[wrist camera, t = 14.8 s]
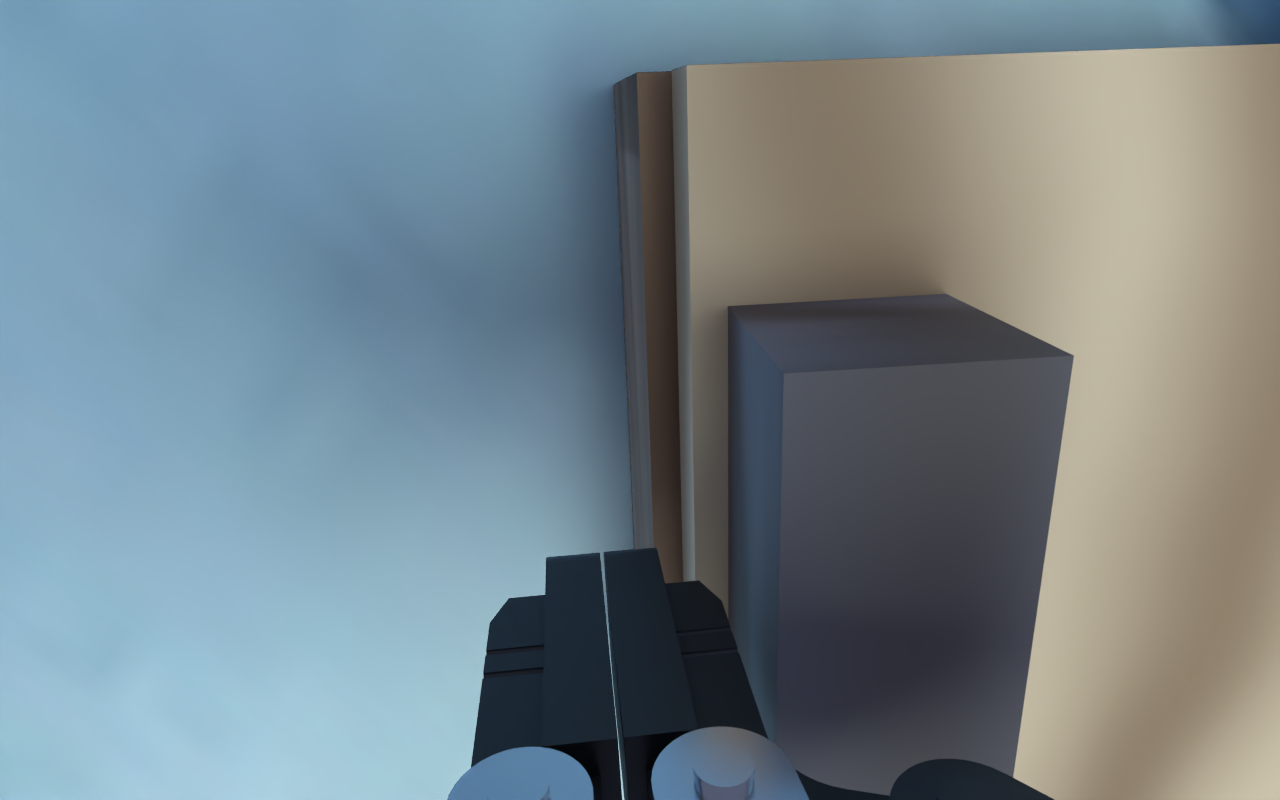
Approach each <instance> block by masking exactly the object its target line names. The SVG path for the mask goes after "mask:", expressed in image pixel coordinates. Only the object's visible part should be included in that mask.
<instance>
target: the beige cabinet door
mask: <svg viewBox="0 0 1280 800" xmlns="http://www.w3.org/2000/svg"><path fill="white" fill-rule="evenodd" d="M672 109H673V154H674V198H675V243H676V288H677V332H678V377H679V422H680V466H681V511H682V556H683V582H687V581H697V580H699V581H700V582H701V583H702V584H704V585H705V586H706V587H707V588H708V589H709V590H710V591H711V592H713V593H714V594H715V595H716V596H717V597H718V598H719V599H720V600H722V603H723V606H724V609H725V612H726V615H727V618H728V621H729V624H730V629H731V631H732V633H733V636H734V639H735V642H736V645H737V649H738V653H739V654H740V657H741V660H742V663H743V665H744V668H745V671H746V674H747V677H748V680H749V683H750V686H751V689H752V692H753V695H754V698H755V701H756V704H757V707H758V710H759V713H760V716H761V719H762V722H763V725H764V728H765V731H766V734H767V736H768V739H769V740H770V741H772V742H773V743H775V744H776V745H777V746H778V747H779V748H781V749H782V750H783V752H784V753H785V754H786V755H787V756H788V757H789V759H790V761H791V762H792V764H793V766H794V768H795V769H796V770H797V771H799V772H800V773H802V774H804V775H805V776H807V777H810V778H812V779H814V780H816V781H818V782H821V783H824V784H827V785H830V786H834V787H839V788H844V789H849V790H856V791H862V792H869V793H875V794H882V795H888V796H890V791H891V789H892V787H893V784H894V782H895V781H896V780H897V778H898V777H899V776H900V775H901V774H902V773H903V772H904V771H906V770H907V769H908V768H910V767H912V766H914V765H916V764H918V763H921V762H925V761H928V760H934V759H961V760H968V761H972V762H977V763H980V764H983V765H986V766H989V767H992V768H994V769H997V770H999V771H1001V772H1003V773H1005V774H1007V775H1009V776H1011V777H1013V778H1015V779H1017V780H1018V781H1020V782H1022V783H1024V784H1026V785H1028V786H1030V787H1032V788H1034V789H1036V790H1037V791H1039V792H1041V793H1043V794H1045V795H1047V796H1049V797H1051V798H1053V799H1054V800H1280V44H1259V45H1231V46H1203V47H1175V48H1147V49H1119V50H1092V51H1064V52H1036V53H1008V54H980V55H952V56H924V57H896V58H868V59H840V60H813V61H785V62H757V63H729V64H701V65H685V66H683V67H680V68H677V69H674V70H672Z"/></svg>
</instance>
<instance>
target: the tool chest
mask: <svg viewBox="0 0 1280 800" xmlns="http://www.w3.org/2000/svg"><path fill="white" fill-rule="evenodd" d="M613 86H614V109H615V131H616V154H617V176H618V199H619V221H620V244H621V266H622V289H623V311H624V334H625V356H626V379H627V401H628V424H629V446H630V468H631V491H632V513H633V536H634V549H643V548H654V547H656V548H657V551H658V555H659V559H660V564H661V568H662V572H663V577H664V581H665V583H676V582H683V556H682V511H681V466H680V422H679V377H678V332H677V288H676V243H675V198H674V154H673V109H672V71H665V72H638V73H635V74H633V75H631V76H629V77H627V78H625V79H623V80H621V81H619V82H617V83H615V84H613Z"/></svg>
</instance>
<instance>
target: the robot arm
mask: <svg viewBox="0 0 1280 800" xmlns="http://www.w3.org/2000/svg"><path fill="white" fill-rule="evenodd" d="M604 566H605V580H606V594H607V608H608V622H609V636H610V650H611V663H612V675H613V686H612V675H611V665H610V655H609V644H608V634H607V624H606V613H605V603H604V593H603V582H602V572H601V562H600V553H590V554H579V555H568V556H557V557H547V558H546V592H545V595H539V596H529V597H518V598H509V599H508V600H507V602H506V603H505V604H504V605H503V607H502V608H501V609H500V611H499V612H498V613H497V614H496V616H495V617H494V618H493V620H492V621H491V622H490V626H489V634H488V642H487V649H486V651H487V656H486V657H485V665H484V672H483V674H484V679H483V680H482V687H481V695H480V703H479V710H478V718H477V726H476V733H475V741H474V749H473V756H472V764H471V768H470V769H469V770H468V771H467V772H466V773H465V774H464V775H463V776H462V777H461V778H460V779H459V780H458V782H457V783H456V784H455V785H454V787H453V789H452V791H451V792H450V794H449V796H448V799H447V800H622V793H621V779H620V765H619V751H618V739H619V749H620V759H621V769H622V779H623V789H624V799H625V800H1054V799H1053V798H1051V797H1049V796H1047V795H1045V794H1043V793H1041V792H1039V791H1037V790H1036V789H1034V788H1032V787H1030V786H1028V785H1026V784H1024V783H1022V782H1020V781H1018V780H1017V779H1015V778H1013V777H1011V776H1009V775H1007V774H1005V773H1003V772H1001V771H999V770H997V769H994V768H992V767H989V766H986V765H983V764H980V763H977V762H972V761H968V760H961V759H934V760H928V761H925V762H921V763H918V764H916V765H914V766H912V767H910V768H908V769H907V770H906V771H904V772H903V773H902V774H901V775H900V776H899V777H898V778H897V780H896V781H895V782H894V784H893V787H892V789H891V791H890V796H888V795H882V794H875V793H869V792H862V791H856V790H849V789H844V788H839V787H834V786H830V785H827V784H824V783H821V782H818V781H816V780H814V779H812V778H810V777H807V776H805V775H804V774H802V773H800V772H799V771H797V770H796V769H795V768H794V766H793V764H792V762H791V761H790V759H789V757H788V756H787V755H786V754H785V753H784V752H783V750H782V749H781V748H779V747H778V746H777V745H776V744H775V743H773V742H772V741H770V740H769V739H768V736H767V734H766V731H765V728H764V725H763V722H762V719H761V716H760V713H759V710H758V707H757V704H756V701H755V698H754V695H753V692H752V689H751V686H750V683H749V680H748V677H747V674H746V671H745V668H744V665H743V663H742V660H741V657H740V654H739V653H738V649H737V645H736V642H735V639H734V636H733V633H732V631H731V629H730V624H729V621H728V618H727V615H726V612H725V609H724V606H723V603H722V600H720V599H719V598H718V597H717V596H716V595H715V594H714V593H713V592H711V591H710V590H709V589H708V588H707V587H706V586H705V585H704V584H702V583H701V582H700V581H699V580H697V581H687V582H676V583H665V581H664V577H663V572H662V568H661V564H660V559H659V555H658V551H657V548H656V547H654V548H643V549H632V550H621V551H610V552H604ZM613 687H614V696H613ZM614 698H615V706H614ZM615 708H616V717H615ZM616 718H617V727H616ZM617 728H618V737H617Z"/></svg>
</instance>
